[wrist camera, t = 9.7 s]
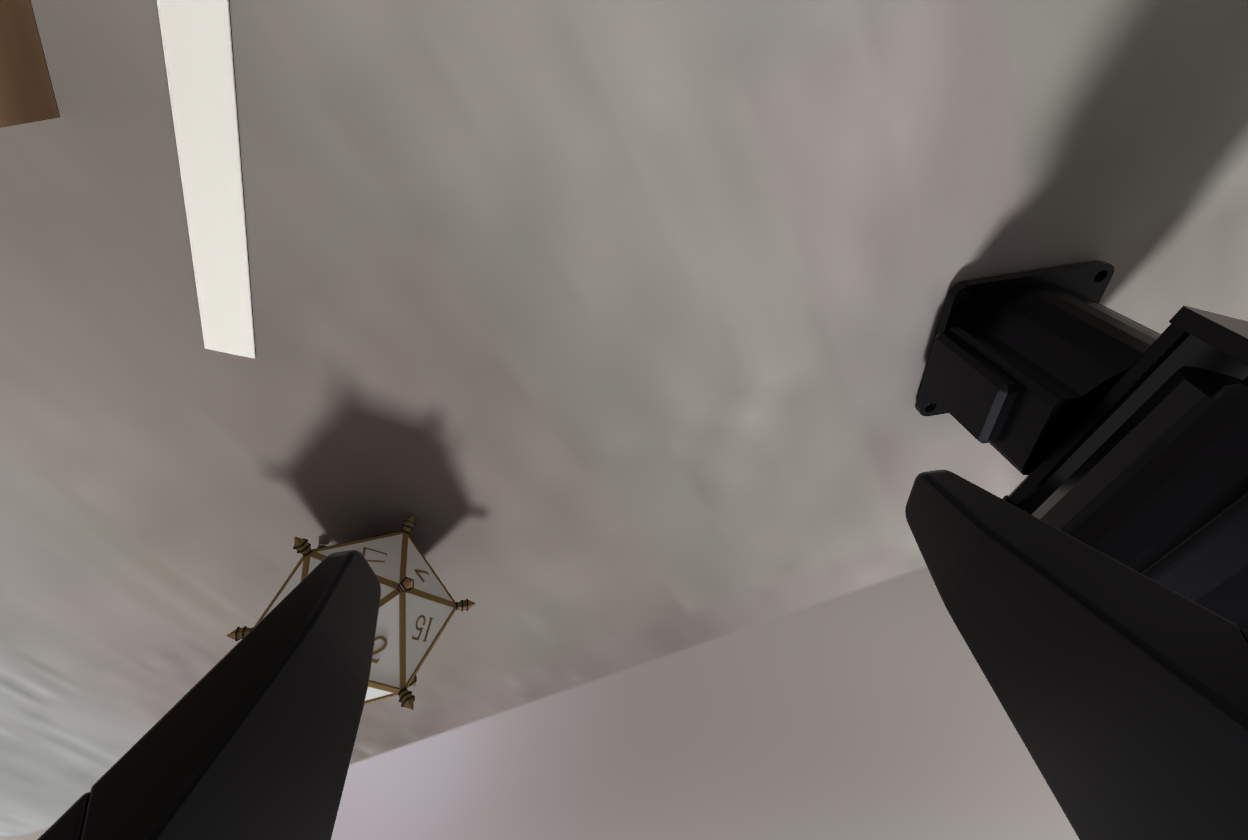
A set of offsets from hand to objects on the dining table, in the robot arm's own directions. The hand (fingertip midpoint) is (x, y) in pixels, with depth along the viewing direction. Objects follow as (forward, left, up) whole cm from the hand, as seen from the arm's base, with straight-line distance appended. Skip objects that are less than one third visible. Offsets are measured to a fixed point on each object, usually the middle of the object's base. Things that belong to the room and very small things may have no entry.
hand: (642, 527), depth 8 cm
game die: (+13, +13, -13) cm, 23 cm away
